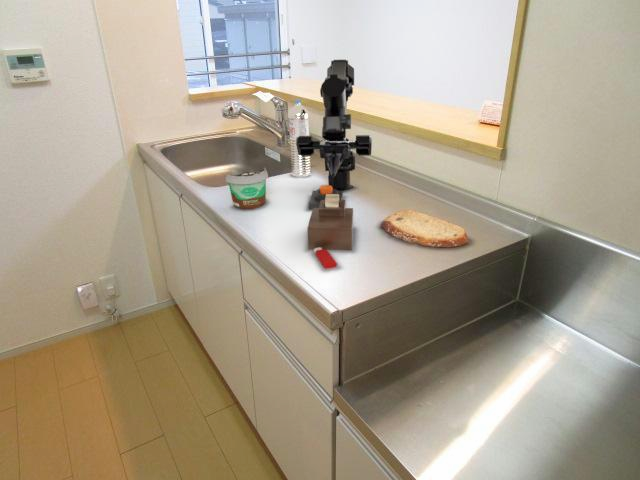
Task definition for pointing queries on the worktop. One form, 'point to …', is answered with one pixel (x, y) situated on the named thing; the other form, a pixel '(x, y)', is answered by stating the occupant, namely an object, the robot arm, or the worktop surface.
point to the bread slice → (424, 229)
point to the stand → (331, 227)
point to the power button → (325, 189)
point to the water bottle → (297, 128)
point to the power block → (321, 198)
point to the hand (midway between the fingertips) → (333, 175)
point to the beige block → (332, 200)
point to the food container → (248, 189)
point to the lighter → (325, 258)
